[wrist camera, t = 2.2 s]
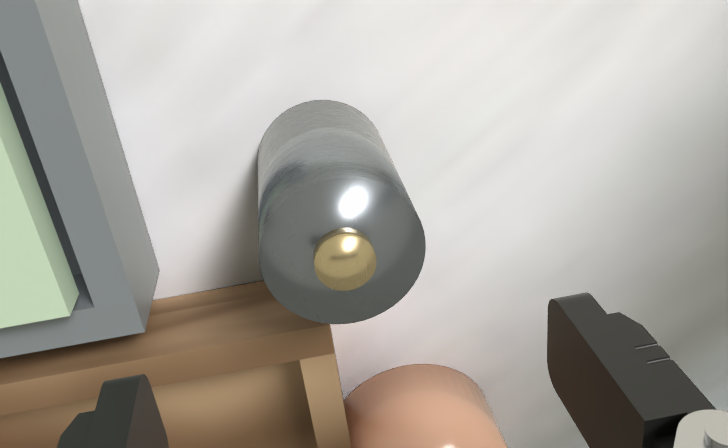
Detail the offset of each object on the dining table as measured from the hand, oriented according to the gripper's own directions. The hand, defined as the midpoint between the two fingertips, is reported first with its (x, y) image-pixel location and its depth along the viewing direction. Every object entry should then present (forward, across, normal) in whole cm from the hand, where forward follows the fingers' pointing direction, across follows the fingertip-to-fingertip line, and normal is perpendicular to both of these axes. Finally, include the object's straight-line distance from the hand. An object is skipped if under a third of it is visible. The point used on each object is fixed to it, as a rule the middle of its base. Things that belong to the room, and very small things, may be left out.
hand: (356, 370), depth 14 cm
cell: (+12, 0, 0) cm, 12 cm away
